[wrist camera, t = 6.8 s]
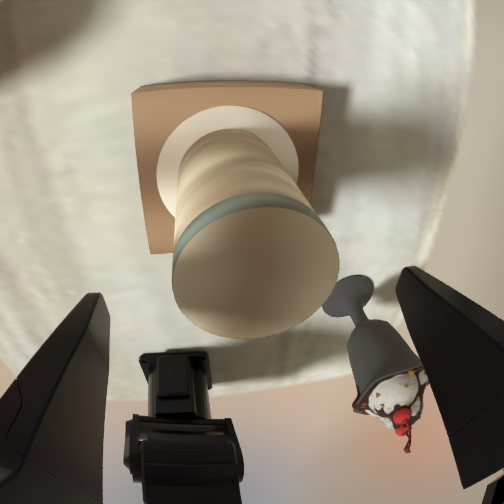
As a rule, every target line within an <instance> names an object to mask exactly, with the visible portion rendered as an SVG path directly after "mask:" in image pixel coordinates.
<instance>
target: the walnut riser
mask: <svg viewBox="0 0 504 504" xmlns="http://www.w3.org/2000/svg"><path fill="white" fill-rule="evenodd" d="M131 95H132V111H133V124H134V136H135V146H136V156H137V165H138V174H139V182H140V190H141V197H142V204H143V211H144V218H145V225H146V231H147V237H148V243H149V249H150V254H161V253H174V231H175V213H176V198H177V184H178V173H179V167H180V163H181V161H182V158H183V156H184V154H185V153H186V151H187V150H188V149H189V147H190V146H191V145H192V144H193V143H194V142H195V141H197V140H198V139H199V138H201V137H202V136H204V135H206V134H208V133H211V132H213V131H217V130H221V129H239V130H244V131H247V132H250V133H252V134H254V135H256V136H258V137H259V138H261V139H262V140H263V141H264V142H265V143H266V144H267V145H268V146H269V147H270V149H271V150H272V151H273V153H274V154H275V156H276V157H277V158H278V160H279V161H280V162H281V164H282V165H283V167H284V168H285V169H286V171H287V172H288V174H289V175H290V176H291V178H292V179H293V181H294V182H295V184H296V185H297V186H298V188H299V189H300V191H301V192H302V194H303V195H304V197H305V198H306V200H307V201H308V202H309V204H310V199H311V192H312V184H313V177H314V169H315V161H316V153H317V144H318V136H319V127H320V117H321V108H322V98H323V91H322V90H319V89H317V88H314V87H312V86H309V85H306V84H303V83H288V82H268V81H203V82H183V83H168V84H157V85H147V86H141V87H139V88H138V89H137V90H135V91H134V92H133V93H131Z"/></svg>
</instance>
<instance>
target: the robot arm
mask: <svg viewBox="0 0 504 504" xmlns="http://www.w3.org/2000/svg"><path fill="white" fill-rule="evenodd" d="M396 295H397V298H398V301H399V304H400V307H401V310H402V313H403V316H404V319H405V322H406V325H407V328H408V331H409V333H410V336H411V338H412V341H413V343H414V345H415V348H416V350H417V353H418V355H419V357H420V360H421V363H422V365H423V368H424V370H425V373H426V375H427V378H428V380H429V383H430V386H431V388H432V391H433V394H434V397H435V399H436V402H437V405H438V407H439V411H440V413H441V416H442V419H443V422H444V425H445V428H446V431H447V434H448V437H449V441H450V445H451V448H452V451H453V455H454V458H455V462H456V465H457V469H458V472H459V476H460V480H461V484H462V486H463V489H466V488H468V487H470V486H472V485H474V484H476V483H477V482H479V481H481V480H483V479H485V478H486V477H488V476H490V475H492V474H494V473H496V472H497V471H499V470H501V469H502V471H503V474H502V475H501V476H499V477H498V478H497V479H495V480H494V481H493V482H491V483H490V484H488V485H487V488H486V492H485V495H484V498H483V501H482V504H504V321H503V320H502V319H500V318H498V317H497V316H495V315H494V314H492V313H491V312H489V311H488V310H486V309H484V308H483V307H481V306H480V305H478V304H477V303H475V302H474V301H472V300H470V299H469V298H467V297H466V296H464V295H463V294H461V293H459V292H458V291H456V290H454V289H453V288H451V287H450V286H448V285H446V284H445V283H443V282H441V281H439V280H438V279H436V278H435V277H433V276H431V275H430V274H428V273H426V272H425V271H423V270H421V269H420V268H418V267H416V266H409V267H405V268H404V269H403V270H402V272H401V274H400V277H399V279H398V282H397V284H396ZM109 341H110V315H109V312H108V309H107V306H106V303H105V300H104V298H103V295H102V294H101V293H99V292H98V293H88V294H86V295H85V296H84V297H83V298H82V299H81V301H80V302H79V303H78V304H77V305H76V306H75V307H74V308H73V310H72V311H71V312H70V313H69V314H68V315H67V316H66V318H65V319H64V320H63V321H62V322H61V323H60V324H59V326H58V327H57V328H56V329H55V330H54V332H53V333H52V334H51V335H50V336H49V337H48V339H47V340H46V341H45V342H44V343H43V345H42V346H41V347H40V348H39V350H38V351H37V352H36V353H35V355H34V356H33V357H32V358H31V360H30V361H29V362H28V363H27V365H26V366H25V367H24V368H23V370H22V371H21V372H20V374H19V375H18V376H17V379H15V380H14V381H13V383H12V384H11V385H10V387H9V388H8V389H7V390H6V392H5V393H4V394H3V396H2V397H1V398H0V504H103V502H102V501H103V494H102V493H103V488H102V487H103V485H102V483H103V481H102V480H103V479H102V478H103V475H102V474H103V471H102V470H103V439H104V421H105V407H106V395H107V385H108V375H109ZM139 363H140V365H141V368H142V370H143V373H144V375H145V377H146V380H147V382H148V416H139V415H138V414H133V420H132V419H131V420H129V421H126V434H125V447H124V465H125V466H126V467H127V468H128V469H129V470H130V474H132V475H133V482H137V483H142V489H143V501H144V504H242V501H241V496H240V489H239V483H240V482H242V479H243V475H244V462H243V455H242V451H241V448H240V445H239V442H238V439H237V436H236V433H235V430H234V426H233V423H232V420H231V418H225V419H211V413H210V404H209V395H208V390H210V389H211V388H212V383H211V375H210V367H209V358H208V353H206V352H193V353H178V354H160V355H141V356H140V357H139ZM140 439H144V440H143V441H140Z"/></svg>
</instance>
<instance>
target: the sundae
mask: <svg viewBox="0 0 504 504" xmlns="http://www.w3.org/2000/svg"><path fill="white" fill-rule="evenodd" d="M372 293H373V284H372V282H371V281H370V279H368V278H367V277H364V276H351V277H347V278H345V279H342V280H340V281H338V282H337V283H336V284H335V286H334V288H333V290H332V292H331V294H330V295H329V297H328V298H327V300H326V301H325V302H324V303H323V305H322V307H323V310H324V312H325V313H326V314H328V315H329V316H332V317H344V316H348V315H349V316H350V317H351V318H352V320H353V322H354V324H355V326H356V328H355V329H354V330H353V332H352V334H351V336H350V338H349V341H348V344H347V348H348V354H349V360H350V364H351V368H352V371H353V375H354V379H355V382H356V388H357V393H358V395H357V398H356V399H355V401H354V402H353V404H352V407H353V408H354V409H353V411H354V412H357V413H360V414H365V415H372V416H374V417H377V418H378V419H379V420H380V421H381V422H382V424H383V425H384V426H386V427H388V428H390V429H395V430H396V431H395V432H396V434H397V435H399V436H404V435H406V436H407V437H408V438H409V440H408V442H407V445H406V446H405V448H404V451H405V452H406V453H410V445H411V429H412V427H411V425H412V424H414V423H415V422H416V421H417V420H418V419H420V417H421V413H422V410H423V393H424V390H425V388H426V386H427V385H428V384H429V380H428V378H427V375H426V373H425V370H424V368H423V365H422V363H421V360H420V359H419V358H418V357H417V356H416V354H414V352H413V351H412V350H411V349H410V347H409V346H408V345H407V343H406V342H405V341H404V339H403V338H402V337H401V336H400V334H399V333H398V332H397V331H396V330H395V329H394V328H393V327H392V326H391V325H390V324H389V323H388V322H387V321H382V320H369V319H368V318H367V316H366V315H365V313H364V311H363V307H364V306H365V305H366V304H367V303H368V301H369V300H370V298H371V296H372ZM408 433H409V434H408ZM408 444H409V445H408Z"/></svg>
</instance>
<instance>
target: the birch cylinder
mask: <svg viewBox="0 0 504 504" xmlns="http://www.w3.org/2000/svg"><path fill="white" fill-rule="evenodd" d="M339 262H340V261H339V254H338V250H337V247H336V244H335V241H334V240H333V238H332V236H331V234H330V233H329V231H328V230H327V228H326V227H325V225H324V224H323V222H322V221H321V219H320V218H319V217H318V216H317V214H316V213H315V211H314V210H313V208H312V207H311V205H310V204H309V202H308V201H307V200H306V198H305V197H304V195H303V194H302V192H301V191H300V189H299V188H298V186H297V185H296V184H295V182H294V181H293V179H292V178H291V176H290V175H289V174H288V172H287V171H286V169H285V168H284V167H283V165H282V164H281V162H280V161H279V160H278V158H277V157H276V156H275V154H274V153H273V151H272V150H271V149H270V147H269V146H268V145H267V144H266V143H265V142H264V141H263V140H262V139H261V138H259V137H258V136H256V135H254V134H252V133H250V132H247V131H244V130H239V129H221V130H217V131H213V132H211V133H208V134H206V135H204V136H202V137H201V138H199V139H198V140H197V141H195V142H194V143H193V144H192V145H191V146H190V147H189V149H188V150H187V151H186V153H185V154H184V156H183V158H182V161H181V163H180V167H179V173H178V184H177V198H176V213H175V231H174V253H173V263H172V288H173V293H174V297H175V300H176V302H177V305H178V307H179V308H180V310H181V311H182V313H183V314H184V315H185V316H186V318H187V319H188V320H189V321H191V322H192V323H193V324H194V325H196V326H197V327H199V328H201V329H202V330H204V331H207V332H209V333H211V334H214V335H218V336H222V337H226V338H234V339H253V338H261V337H266V336H270V335H274V334H277V333H280V332H283V331H285V330H288V329H290V328H292V327H294V326H296V325H298V324H300V323H301V322H303V321H304V320H306V319H307V318H309V317H310V316H311V315H312V314H314V313H315V312H316V311H317V310H318V309H319V308H320V307H321V306H322V305H323V303H324V302H325V301H326V300H327V298H328V297H329V295H330V294H331V292H332V290H333V288H334V286H335V284H336V281H337V278H338V273H339Z"/></svg>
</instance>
